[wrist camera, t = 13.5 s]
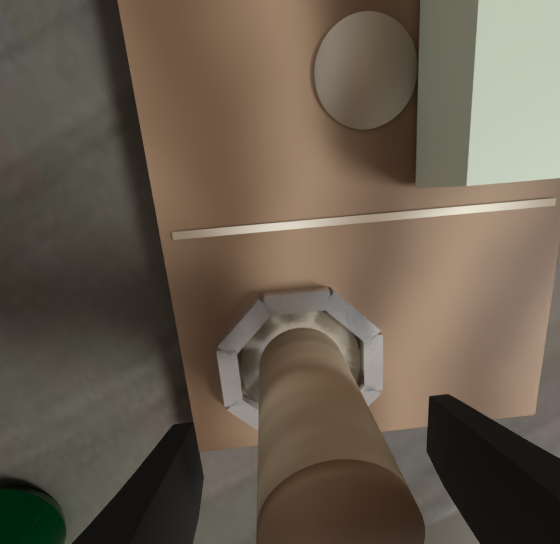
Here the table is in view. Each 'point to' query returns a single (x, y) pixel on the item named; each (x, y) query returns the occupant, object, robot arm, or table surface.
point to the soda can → (30, 517)
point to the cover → (488, 92)
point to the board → (331, 202)
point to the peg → (324, 453)
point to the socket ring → (288, 315)
